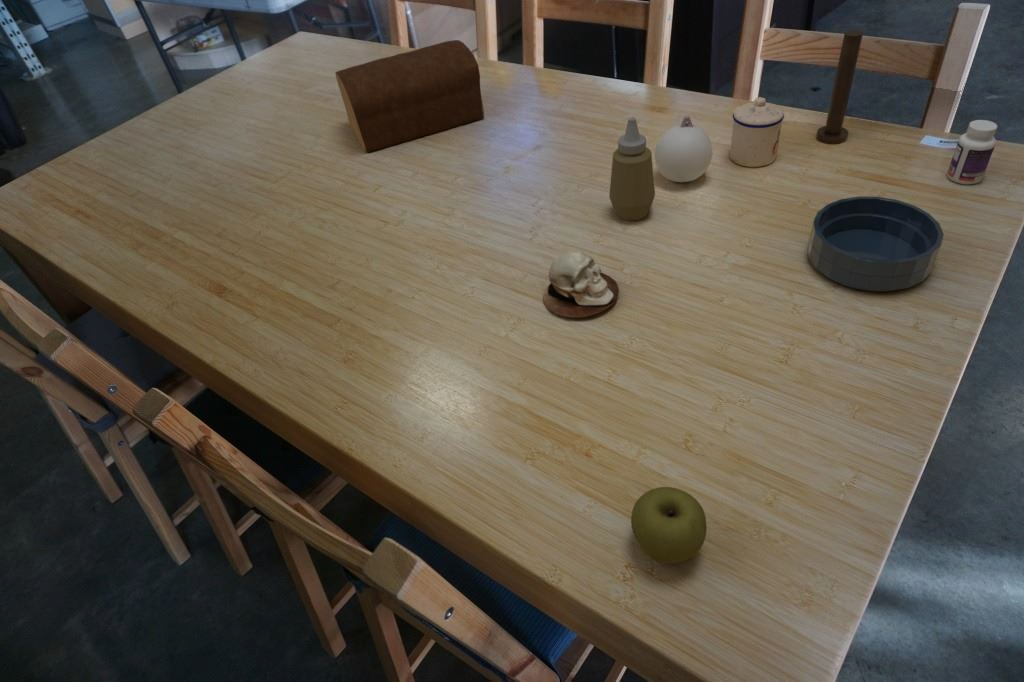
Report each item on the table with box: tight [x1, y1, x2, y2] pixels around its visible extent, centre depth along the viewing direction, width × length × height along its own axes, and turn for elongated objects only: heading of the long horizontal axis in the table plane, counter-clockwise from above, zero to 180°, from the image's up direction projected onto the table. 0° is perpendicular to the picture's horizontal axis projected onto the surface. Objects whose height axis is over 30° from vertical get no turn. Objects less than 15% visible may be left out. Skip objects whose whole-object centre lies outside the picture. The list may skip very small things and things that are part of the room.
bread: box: [334, 39, 485, 153], centre depth 156 cm, size 18×30×16 cm, turn 112°
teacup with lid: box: [729, 96, 785, 168], centre depth 128 cm, size 12×9×12 cm
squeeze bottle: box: [608, 117, 656, 222], centre depth 116 cm, size 8×8×18 cm
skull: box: [542, 250, 620, 319], centre depth 106 cm, size 12×10×10 cm
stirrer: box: [815, 29, 864, 145], centre depth 126 cm, size 6×6×20 cm
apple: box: [630, 486, 707, 564], centre depth 72 cm, size 8×8×7 cm
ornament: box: [654, 115, 713, 183], centre depth 125 cm, size 10×10×12 cm
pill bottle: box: [946, 119, 998, 185], centre depth 114 cm, size 5×5×10 cm
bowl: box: [807, 195, 945, 292], centre depth 103 cm, size 17×17×6 cm
